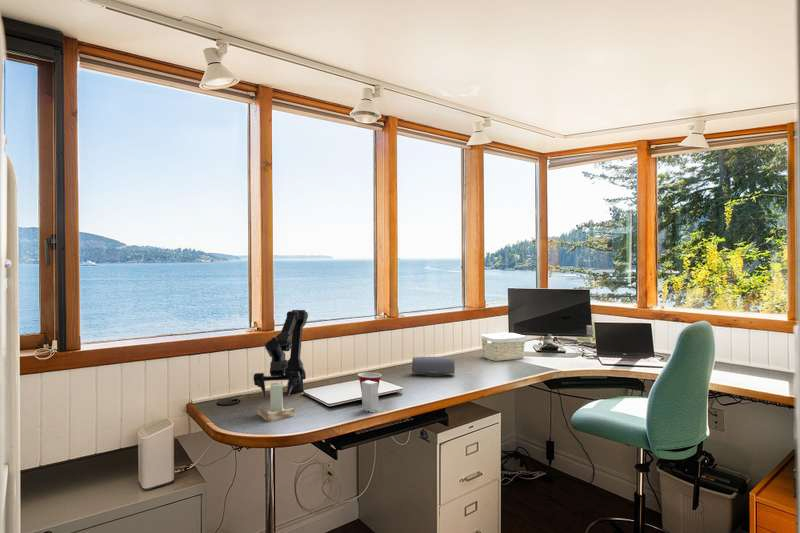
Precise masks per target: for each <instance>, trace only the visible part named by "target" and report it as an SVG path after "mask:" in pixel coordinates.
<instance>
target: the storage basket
mask: <svg viewBox="0 0 800 533" xmlns="http://www.w3.org/2000/svg"><path fill="white" fill-rule="evenodd" d="M480 337H481V347H482V349H481V350H482V357H483V358H485V359H488V360H490V361H493V362H494V361H495V362H499V361H506V360H507V361H508V360H513V361H514V360H519V359H524V352H525V344H526V335H524V334H523V335H522V334H519V333H515V332H498V333H486V334H484V333H483V334H481V336H480Z"/></svg>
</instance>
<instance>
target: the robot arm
mask: <svg viewBox="0 0 800 533" xmlns="http://www.w3.org/2000/svg"><path fill="white" fill-rule="evenodd" d="M308 318H309V312H307V311H306V309H292V310H291V311H290V310H289V311H287V312H286V318H285V320H284V323H283V327H282V329H281V331H280V333H278V334H277V335H276V336H275V337H271V339H270V340H267V342H266V343H265V346H264V347H265V348H264V349H265V350H266V351H267V354H268V356H269V357H270V358H271V361H270V366H269V374H270V375H265V373H264V372H256V373H254V374H253V384H254V386H256V387H257V388H260V389H261V392H262V396H263V398H264V399H265V398H266V395H267V393H266V384H265V382H269V381H271V382H272V381H287V386H286V387H287V389H286V391H287V392H286V393H287V397H289V396H290V394H291V395H292V394H293V395H294V394H298V393H303V392H302V391H304V390H305V389H304V380H305V379H306V378H307V376H306V375H307V373H306V371H305V368H304V364H303V362H302V359H301V353H302V352H301V351H302V350H301V348H302V340H303V339H302V338H303V328H304V327H305V325H306V324H307V322H308V321H307V320H308ZM289 351H290V356H289V359H288V360H287V359H286V353H285V352H289Z"/></svg>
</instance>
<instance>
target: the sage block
mask: <svg viewBox="0 0 800 533" xmlns="http://www.w3.org/2000/svg"><path fill="white" fill-rule="evenodd" d="M283 385H284V384H283V382H276V383H271V384H270V387H269V388H270V390H269V391H270V393H269V394H270V395H269V396H270V411H271V413H272V412H277V411H282V410H283V409H284V397H283V396H284V395H283V394H284V393H283V392H284V391H283V390H284V388H283V387H284V386H283Z"/></svg>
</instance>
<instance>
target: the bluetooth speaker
mask: <svg viewBox="0 0 800 533" xmlns="http://www.w3.org/2000/svg"><path fill="white" fill-rule="evenodd" d="M455 368H456V367H455V357H448V356H447V357H446V356H414V357H412V365H411V371H412V372H411V373H413V374H421V375H424V376H426V377H427V376H429V377H430V376H432V377H434V376H437V377H443V376H444V375H450V374H455Z"/></svg>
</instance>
